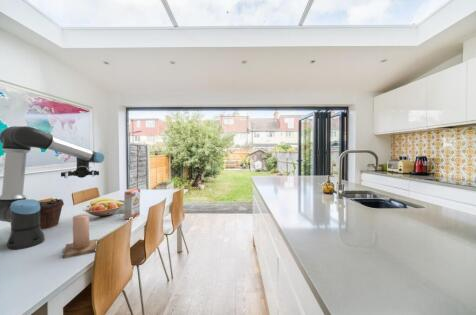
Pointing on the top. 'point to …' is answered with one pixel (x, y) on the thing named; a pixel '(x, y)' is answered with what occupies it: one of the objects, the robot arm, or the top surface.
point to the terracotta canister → (80, 231)
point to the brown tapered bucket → (50, 213)
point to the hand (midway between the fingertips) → (79, 175)
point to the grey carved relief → (120, 211)
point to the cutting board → (74, 252)
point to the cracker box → (131, 203)
